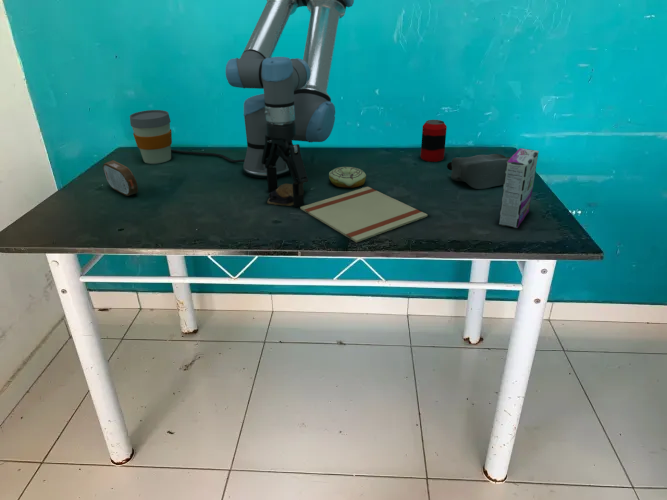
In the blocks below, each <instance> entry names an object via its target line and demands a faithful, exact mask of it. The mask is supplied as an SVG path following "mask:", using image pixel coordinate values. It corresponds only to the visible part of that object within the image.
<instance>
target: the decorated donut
mask: <svg viewBox="0 0 667 500" xmlns="http://www.w3.org/2000/svg"><path fill="white" fill-rule="evenodd" d="M328 178H329V181H330V183H331V184H332V185H334V186H336V187H338V188H349V189H350V188H351V189H354V188H358V187H360V186H364V184H365V182H366V178H367V174H366V173H365V171H364V170H362V169H361V168H357V167H354V166H338V167H336V168H333V169H332V170H331V171H329V172H328Z"/></svg>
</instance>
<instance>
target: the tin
mask: <svg viewBox="0 0 667 500" xmlns="http://www.w3.org/2000/svg"><path fill="white" fill-rule="evenodd" d="M102 170H103V173H104V176H105V181H106V182H107V183H108V185H109V186H110V188H111V189H113V190H114V191H116V192H118V193H120V194H122V195H124V196H126V197H129V196H133V195H136V194H137V193H138V192H139V186H138V182H137V179H136V177H135V175H134V173H133V171H131V169H130V168H129V167H128V166H126V165H125V164H122V163H120V162H118V161H117V160H113V159H112V160H110V161H107V162H104V163H103V165H102Z"/></svg>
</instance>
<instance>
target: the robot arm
mask: <svg viewBox="0 0 667 500" xmlns="http://www.w3.org/2000/svg"><path fill="white" fill-rule="evenodd" d="M354 2H355V0H266V4H265V5H264V7H263V10H262V11H261V14H260V16H259V18H258V19H257V20H258V21H257V22H256V25H255V27H254V28H253V30H252V32H251V35H250V36H249V40H248V41H247V44H246V46H245V47H244V50H243V52H242V54H241V55H240V57H235V58H230V59H228V61H227V62H226V64H225V65H226V66H225V79H226V80H227V83H228V84H229V85H230V87H233V88H238V89H239V88H240V89H257V90H258V89H259V90H260V89H261V90H262V89H263V93H259V94H255V95H252V96H250V97H248V98H246V99H245V100H244V102H243V119H244V127H245V137H246V147H247V148H246V152H245V158H244V159H243V158H242V159H241V158H240V159H233V158H232V159H231V158H229V157H227V156H226V155H224V154H220V153H214V152H200V151H186V150H177V149H171V153H176V154H184V155H185V154H186V155H195V156H196V155H198V156H212V157H213V156H214V157H219V158H222V159H224V160H225V161H227V162H230V163H243V166H242V167H243V173H244V174H245V175H246V176H248V177H251V178H253V179H266V180H267V191H268V192H269V193H271V192H273V191H274V190H276V189H277V188H278V187H279V186H278V178H280V177H284V176H287V175H289V174H290V176H291V178H292V180H293V182H292V183H291V184H293V201H294V205H293V207H294V208H296V207H301V206H305V205H304V204H305V199H304V193H305V191H304V192H303V190H304V184H305V183H308V182H309V177H308V174H307V170H306V167H305V163H304V160H303V157H302V153H301V145H300V144H299V143H297V144H293V141H295V142H307V143H323V142H325V141H326V140H327V139H329V137H330V136H331V134H332V131H333V129H334V126H335V121H336V106H335V104H334V103H333V102H332V98H331V96H330V95H329V94H328V89H329V83H330V78H331V77H330V76H331V71H332V64H333V59H334V53H335V45H336V41H337V40H336V39H337V33H338V28H339V21H340V19H342V18H344V17H345V14H346V11H347V10H346V9H347V8H350V7H352V6H353V5H354ZM301 7H306V8H307V10H308V13H310V16H309V22H308V26H307V27H308V28H307V34H306V38H305V39H306V40H305V44H304V45H305V46H304V52H303V58H299V57H298V58H297V57H295V58H290V57H287V56H273V55H274V53H275V50H276V48H277V46H278V43H279V41H280V39H281V36H282V35H283V32H284V30H285V28H286V26H287V23H288V21H289V18H290V16H291V15H294V14H295V12H296V11H297V9H298V8H301Z"/></svg>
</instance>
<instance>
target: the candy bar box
mask: <svg viewBox="0 0 667 500" xmlns="http://www.w3.org/2000/svg"><path fill="white" fill-rule="evenodd" d="M539 152H540V150H536V149H535V150H534V149H528V148H518V149H517V150H516V152H515V153H514V154H512V156H510V159H509V160H508V161H507V164H506V172H505V179H504V185H503V188H502V196H501V203H500V211H499V219H498V225H500V226H503V227H508V228H513V229H518V228H519V227H520V225H522V222H523V221H524V220H525V218H526V216H527V215H528V214H529V212H530V207H531V202H532V195H533V189H534V183H535V178H536V177H535V176H536V171H537V163H538V159H539Z"/></svg>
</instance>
